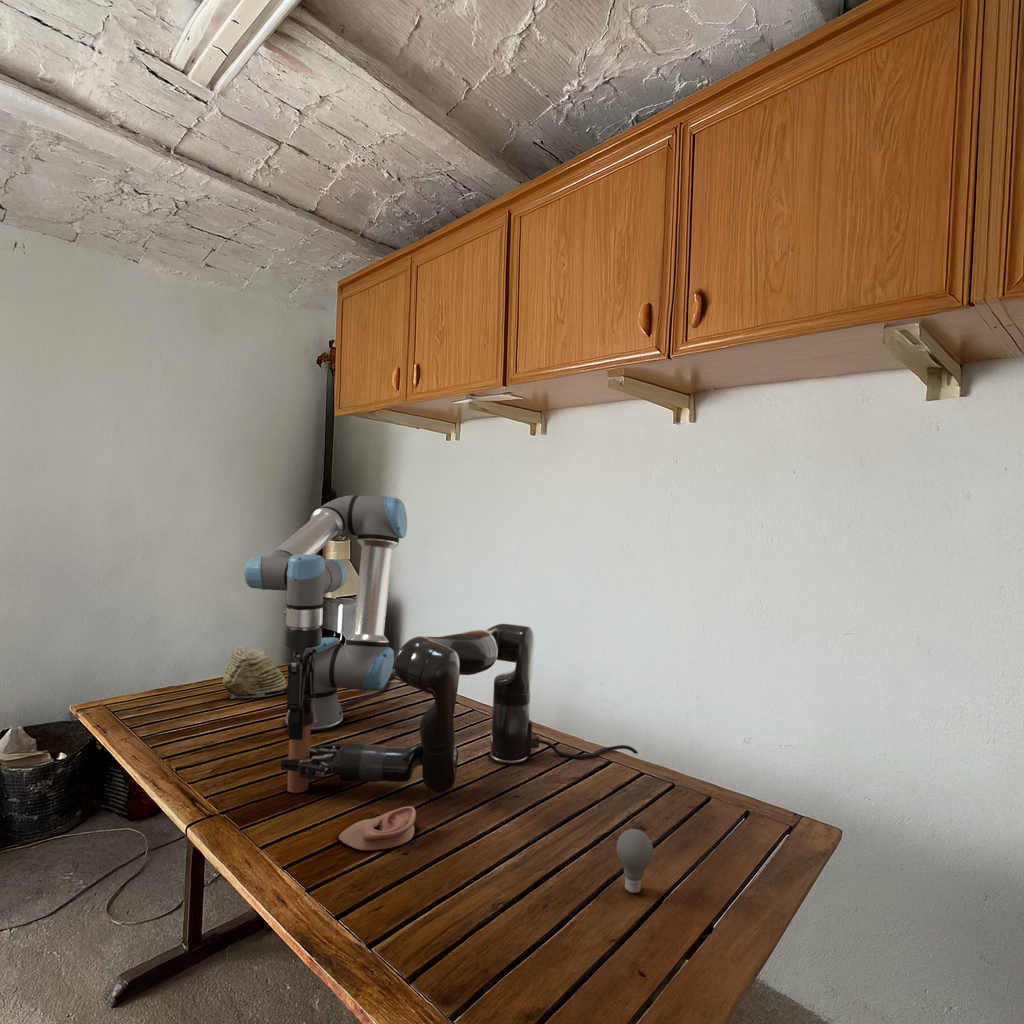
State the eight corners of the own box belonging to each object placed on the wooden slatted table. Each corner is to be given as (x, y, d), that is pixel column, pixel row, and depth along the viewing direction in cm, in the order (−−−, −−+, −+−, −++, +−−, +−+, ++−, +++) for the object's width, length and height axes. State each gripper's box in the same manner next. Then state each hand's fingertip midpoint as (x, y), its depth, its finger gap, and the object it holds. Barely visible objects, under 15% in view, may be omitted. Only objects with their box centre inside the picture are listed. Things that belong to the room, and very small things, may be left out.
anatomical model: (331, 824, 115) (359, 795, 126) (330, 845, 115) (358, 815, 126) (400, 835, 112) (422, 805, 124) (399, 857, 112) (421, 825, 124)
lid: (289, 728, 133) (289, 718, 133) (285, 719, 138) (286, 710, 138) (315, 724, 136) (315, 715, 136) (310, 717, 140) (310, 708, 140)
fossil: (218, 695, 195) (220, 647, 195) (278, 685, 208) (279, 640, 207) (228, 703, 189) (230, 653, 188) (289, 692, 201) (290, 645, 201)
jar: (288, 794, 134) (291, 719, 134) (285, 785, 138) (288, 713, 138) (310, 790, 136) (313, 717, 136) (306, 782, 140) (309, 710, 140)
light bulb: (610, 879, 108) (613, 822, 108) (644, 879, 109) (647, 822, 109) (619, 902, 102) (622, 840, 102) (655, 901, 103) (658, 840, 103)
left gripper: (298, 618, 145) (294, 718, 146) (272, 635, 127) (268, 750, 128) (331, 619, 146) (327, 719, 146) (310, 636, 128) (305, 750, 128)
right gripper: (372, 733, 144) (297, 730, 144) (357, 759, 130) (274, 755, 130) (371, 766, 144) (296, 762, 144) (356, 795, 130) (273, 791, 130)
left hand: (299, 733), depth 137 cm, fingers closed on lid, 5 cm apart
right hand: (286, 759), depth 137 cm, fingers closed on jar, 4 cm apart
